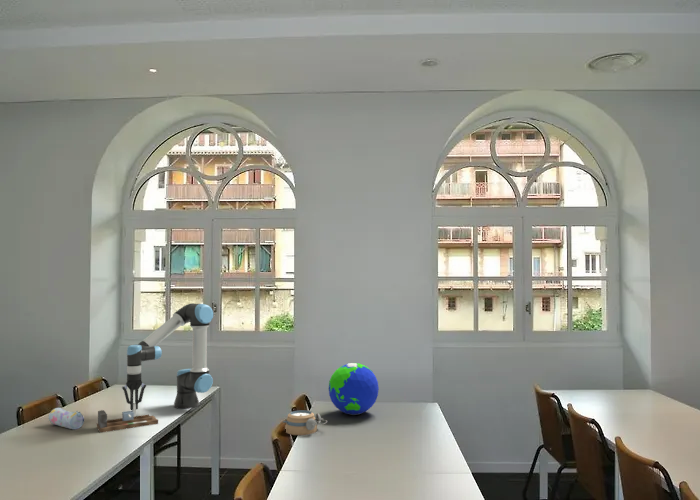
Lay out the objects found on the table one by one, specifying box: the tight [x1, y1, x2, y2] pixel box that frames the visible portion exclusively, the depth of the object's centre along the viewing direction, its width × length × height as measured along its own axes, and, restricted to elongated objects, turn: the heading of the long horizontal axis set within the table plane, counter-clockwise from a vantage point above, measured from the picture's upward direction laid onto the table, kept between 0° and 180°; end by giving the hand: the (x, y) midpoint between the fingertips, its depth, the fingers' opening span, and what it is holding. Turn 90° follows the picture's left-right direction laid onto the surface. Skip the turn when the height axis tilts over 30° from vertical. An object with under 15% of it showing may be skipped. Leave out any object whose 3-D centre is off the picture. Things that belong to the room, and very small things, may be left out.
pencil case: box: [48, 407, 85, 430], centre depth 311 cm, size 21×9×10 cm, turn 61°
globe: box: [328, 362, 379, 416], centre depth 332 cm, size 30×30×30 cm
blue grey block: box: [121, 410, 134, 421], centre depth 310 cm, size 5×9×5 cm, turn 32°
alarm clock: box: [282, 409, 328, 436], centre depth 299 cm, size 17×9×23 cm
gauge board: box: [96, 409, 159, 433], centre depth 312 cm, size 30×12×9 cm, turn 122°
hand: (134, 415), depth 314 cm, fingers closed
